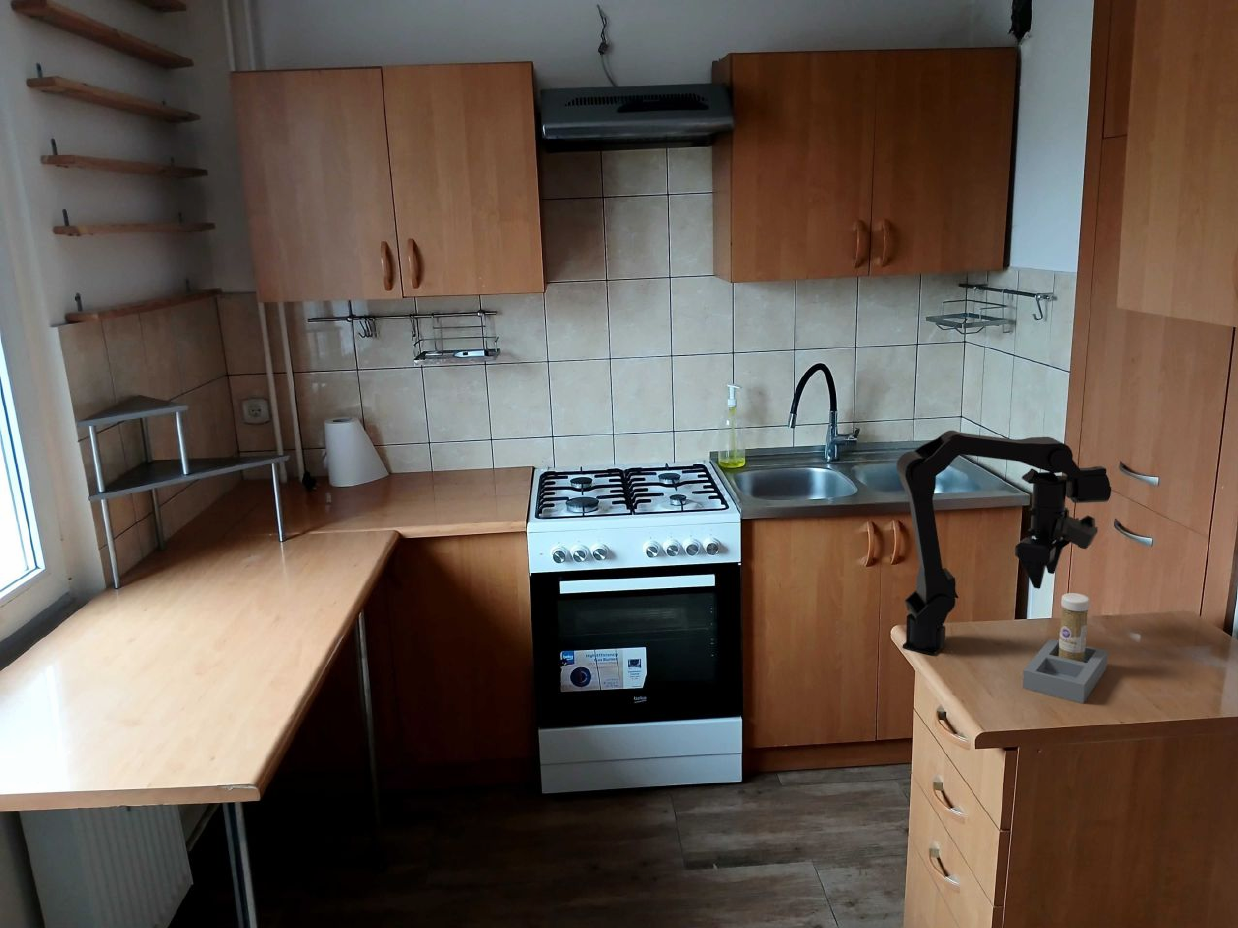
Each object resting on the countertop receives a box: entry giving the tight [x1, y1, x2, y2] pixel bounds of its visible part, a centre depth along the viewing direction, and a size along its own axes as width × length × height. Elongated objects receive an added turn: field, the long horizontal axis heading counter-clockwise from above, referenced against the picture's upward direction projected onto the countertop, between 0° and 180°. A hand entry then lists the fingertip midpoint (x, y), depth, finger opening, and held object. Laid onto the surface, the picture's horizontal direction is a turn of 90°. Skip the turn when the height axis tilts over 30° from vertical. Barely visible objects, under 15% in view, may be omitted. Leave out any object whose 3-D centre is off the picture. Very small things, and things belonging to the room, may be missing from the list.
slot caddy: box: [1022, 638, 1108, 704], centre depth 167 cm, size 10×16×4 cm, turn 140°
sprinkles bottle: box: [1058, 592, 1090, 663], centre depth 169 cm, size 5×5×14 cm
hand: (1044, 580), depth 179 cm, fingers open, 9 cm apart
